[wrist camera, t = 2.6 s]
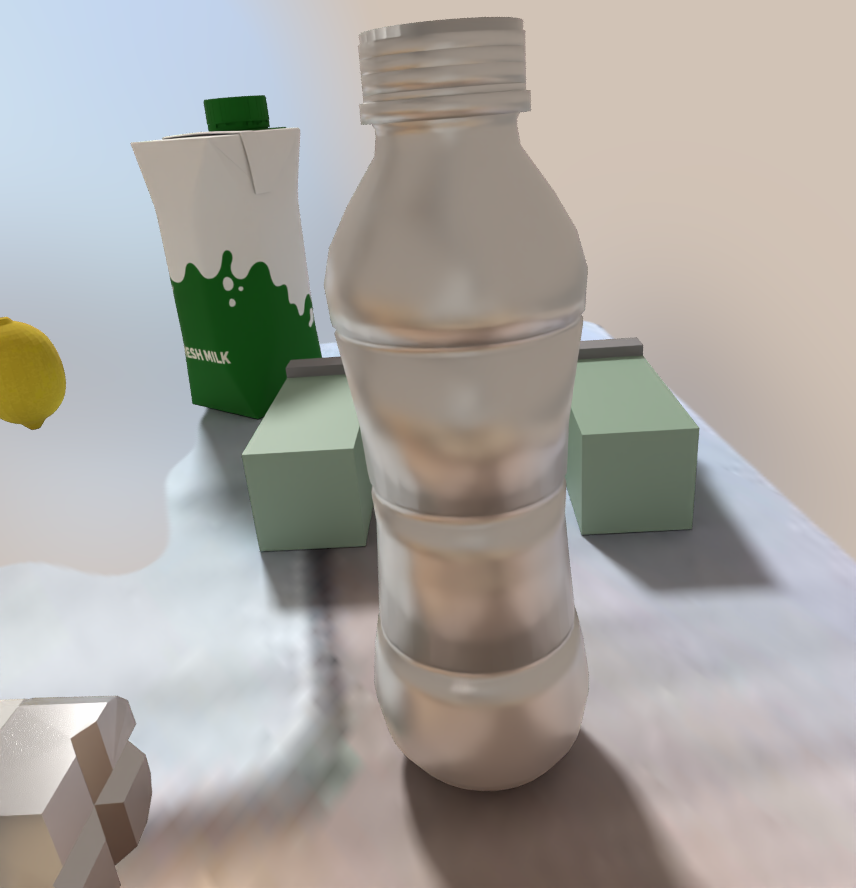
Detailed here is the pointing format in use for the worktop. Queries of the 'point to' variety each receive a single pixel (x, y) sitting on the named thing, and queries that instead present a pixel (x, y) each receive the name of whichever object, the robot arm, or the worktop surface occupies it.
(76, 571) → the worktop surface
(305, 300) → the milk carton
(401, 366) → the plastic bottle
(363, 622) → the worktop surface
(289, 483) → the green u-shaped bracket
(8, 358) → the lemon
